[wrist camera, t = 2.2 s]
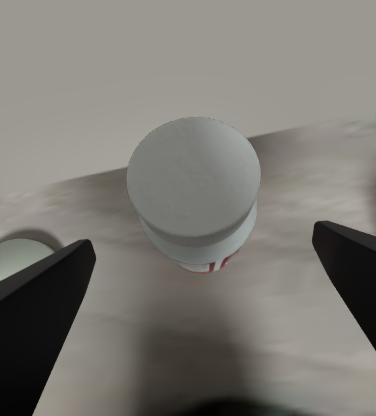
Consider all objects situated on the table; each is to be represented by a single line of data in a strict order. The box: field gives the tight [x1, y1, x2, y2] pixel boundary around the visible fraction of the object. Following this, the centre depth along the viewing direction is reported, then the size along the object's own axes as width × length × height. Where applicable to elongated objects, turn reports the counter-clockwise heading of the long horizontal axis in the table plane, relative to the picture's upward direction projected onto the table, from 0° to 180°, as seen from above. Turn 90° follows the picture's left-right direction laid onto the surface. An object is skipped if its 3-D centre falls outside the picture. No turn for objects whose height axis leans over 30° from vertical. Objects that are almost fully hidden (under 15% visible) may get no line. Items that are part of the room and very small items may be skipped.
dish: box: [0, 239, 55, 281], centre depth 18 cm, size 9×9×1 cm
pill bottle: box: [126, 117, 261, 273], centre depth 14 cm, size 6×6×11 cm
